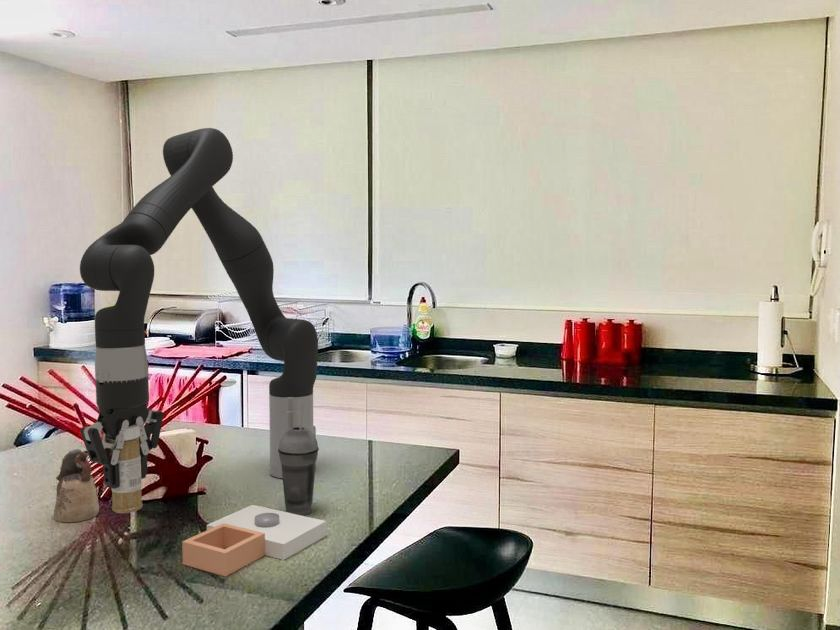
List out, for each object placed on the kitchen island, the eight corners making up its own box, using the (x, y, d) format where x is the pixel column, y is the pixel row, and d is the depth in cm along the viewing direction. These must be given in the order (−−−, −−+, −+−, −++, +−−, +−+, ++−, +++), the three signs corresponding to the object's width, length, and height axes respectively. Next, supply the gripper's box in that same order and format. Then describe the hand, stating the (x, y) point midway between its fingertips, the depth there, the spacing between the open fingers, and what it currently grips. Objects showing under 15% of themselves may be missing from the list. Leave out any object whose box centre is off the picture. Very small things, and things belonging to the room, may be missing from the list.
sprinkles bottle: (134, 502, 115) (131, 420, 114) (148, 508, 112) (145, 425, 111) (106, 509, 111) (102, 425, 110) (119, 516, 108) (115, 430, 107)
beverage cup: (303, 502, 135) (303, 397, 133) (327, 512, 129) (326, 403, 128) (270, 511, 130) (269, 403, 128) (293, 522, 124) (292, 409, 123)
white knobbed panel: (252, 518, 126) (252, 499, 126) (326, 535, 118) (326, 515, 118) (165, 559, 109) (164, 536, 109) (244, 582, 101) (244, 558, 101)
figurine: (80, 506, 131) (78, 442, 131) (108, 512, 128) (106, 447, 127) (45, 518, 125) (43, 451, 124) (73, 525, 122) (71, 457, 121)
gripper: (142, 366, 118) (146, 466, 119) (64, 380, 105) (69, 492, 107) (175, 369, 114) (178, 473, 116) (98, 384, 102) (103, 500, 103)
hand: (126, 482), depth 111 cm, fingers closed on sprinkles bottle, 4 cm apart
